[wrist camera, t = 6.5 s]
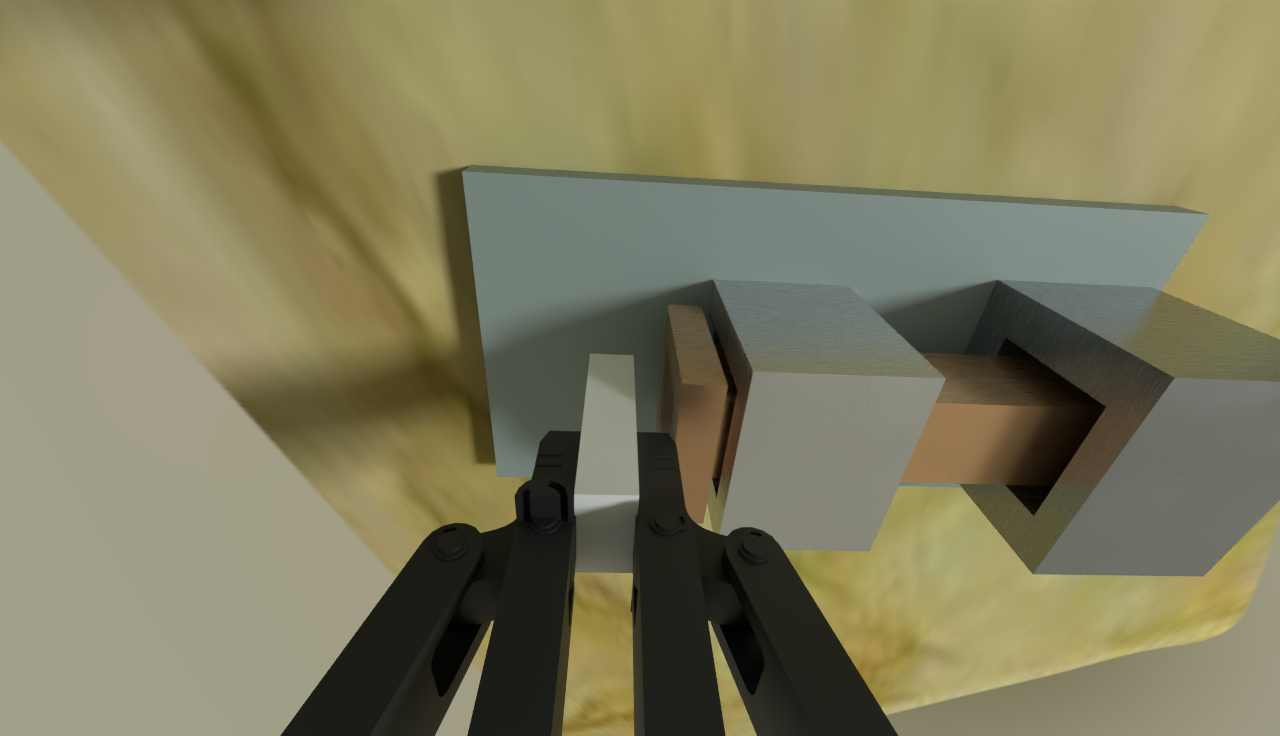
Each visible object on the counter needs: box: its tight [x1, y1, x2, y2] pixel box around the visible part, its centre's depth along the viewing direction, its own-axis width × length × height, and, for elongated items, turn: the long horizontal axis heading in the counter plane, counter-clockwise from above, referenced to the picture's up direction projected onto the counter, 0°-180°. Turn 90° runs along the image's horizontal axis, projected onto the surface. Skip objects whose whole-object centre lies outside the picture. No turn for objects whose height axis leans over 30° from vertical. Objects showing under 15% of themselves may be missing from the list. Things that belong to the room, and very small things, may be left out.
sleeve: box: [707, 279, 946, 551], centre depth 17 cm, size 7×5×6 cm
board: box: [462, 165, 1210, 487], centre depth 20 cm, size 13×26×1 cm, turn 87°
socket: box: [960, 280, 1280, 576], centre depth 17 cm, size 8×6×7 cm
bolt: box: [656, 304, 1106, 523], centre depth 17 cm, size 5×15×5 cm, turn 87°
